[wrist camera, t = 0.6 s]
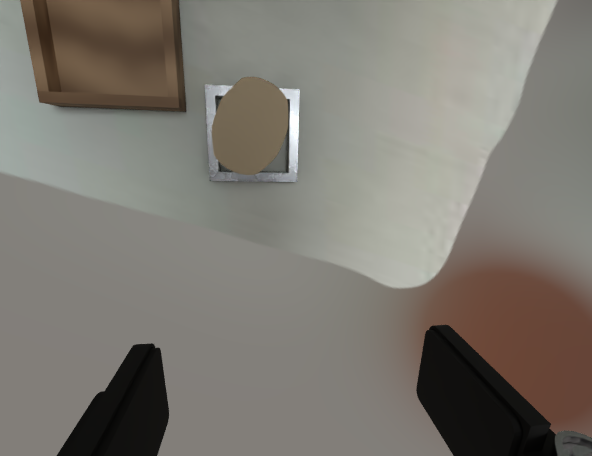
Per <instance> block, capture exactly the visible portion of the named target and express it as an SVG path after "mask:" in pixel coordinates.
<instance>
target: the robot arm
mask: <svg viewBox="0 0 592 456" xmlns="http://www.w3.org/2000/svg"><path fill="white" fill-rule="evenodd" d="M417 396H418V398H419V400H420V402H421V404H422V405H423V407H424V409H425V410H426V412H427V413H428V415H429V416H430V418H431V420H432V421H433V423H434V425H435V426H436V428H437V429H438V431H439V433H440V434H441V436H442V438H443V439H444V441H445V442H446V444H447V445H448V447H449V449H450V450H451V452H452V454H453V455H454V456H592V438H591V437H588V436H586V435H584V434H581V433H577V432H574V431H561V432H558V433H557V435H556V434H555V433H554V432H553V431H551V430H550V429H549V428H550V425H551V424H550V423H549V422H548V421H547V420H546V419H545V418H544V417H543V416H542V415H541V414H540V413H539V412H538V411H537V410H536V409H535V408H534V407H533V406H532V405H531V404H530V403H529V402H528V401H527V400H526V399H524V398H523V397H522V396H521V395H520V394H519V393H518V392H517V391H516V390H515V389H514V388H513V387H512V386H511V385H510V384H509V383H508V382H507V381H506V380H505V379H504V378H503V377H502V376H501V375H500V374H499V373H498V372H497V371H496V370H495V369H493V367H491V366H490V365H489V364H488V363H487V362H486V361H485V360H484V359H483V358H482V357H481V356H480V355H479V354H478V353H477V352H476V351H475V350H474V349H473V348H472V347H471V346H470V345H469V344H468V343H467V342H466V341H465V340H464V339H462V337H460V336H459V335H458V334H457V333H456V332H455V331H454V330H453V329H452V328H451V327H450V326H448V325H437V326H431V327H430V329H429V330H427V331H426V334H425V339H424V346H423V352H422V358H421V364H420V370H419V377H418V383H417ZM168 419H169V408H168V401H167V393H166V387H165V379H164V372H163V364H162V357H161V350H160V348H155V346H154V344H137V345H133V347H132V348H131V350H130V351H129V353H128V354H127V356H126V358H125V359H124V361H123V363H122V364H121V366H120V367H119V369H118V371H117V372H116V374H115V376H114V377H113V379H112V380H111V382H110V383H109V385H108V387H107V388H106V390H105V391H104V392H100V393H98V394H97V395H96V396H95V398H94V399H93V400H92V402H91V404H90V405H89V406H88V408H87V410H86V411H85V413H84V414H83V416H82V417H81V419H80V421H79V422H78V423H77V425H76V427H75V428H74V430H73V431H72V433H71V434H70V436H69V438H68V439H67V441H66V442H65V444H64V445H63V447H62V448H61V450H60V452H59V453H58V455H57V456H157V454H158V451H159V448H160V445H161V442H162V439H163V436H164V432H165V430H166V426H167V423H168Z"/></svg>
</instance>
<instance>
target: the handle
mask: <svg viewBox="0 0 592 456" xmlns="http://www.w3.org/2000/svg"><path fill="white" fill-rule="evenodd" d="M287 130H288V100H287V99H286V97H285V95H284V94H283V93H282V91H281V90H280V89H279V88H277V87H276V86H275V85H274V84H272V83H270V82H269V81H266V80H264V79H261V78H257V77H244V78H241V79H240V80H239V81H238V82H237V83H236V84H235V85H234V86H233V87H232V88H231V89H230V90H229V91H228V92H227V93H226V94H225V95H224V96H223V98H222V99H221V102H220V104H219V106H218V109H217V112H216V114H215V117H214V120H213V124H212V144H213V153H214V156H215V157H216V159H217V160H218V161H219V162H220V163H221V164H222V165H223V166H224V167H226V168H227V169H229V170H231V171H233V172H236V173H239V174H244V175H254V174H258V173H259V172H261V171H262V170H263V169H264V168H265V167H266V166H267V165H268V164H270V163H271V162H272V161H273V159H274V158H275V157H276V156H277V154H278V152H279V150H280V148H281V146H282V143H283V141H284V139H285V136H286V133H287Z"/></svg>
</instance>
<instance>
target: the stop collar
mask: <svg viewBox="0 0 592 456" xmlns="http://www.w3.org/2000/svg"><path fill="white" fill-rule="evenodd" d="M232 87H233V86H224V85H205V99H206V118H207V137H208V156H209V176H210V181H263V182H297V171H298V131H299V90H300V89H283V88H279V89H280V90H281V91H282V93H283V94H284V95H285V97H286V99H287V100H288V161H287V172H265V171H261V172H259V173H258V174H254V175H244V174H239V173H236V172H233V171H221V167H220V162H219V161H218V160H217V159H216V157H215V156H214V153H213V144H212V124H213V120H214V117H215V114H216V112H217V109H218V99H222V98H223V96H224V95H225V94H226V93H227V92H228V91H229V90H230V89H231V88H232Z"/></svg>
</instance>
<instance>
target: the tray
mask: <svg viewBox="0 0 592 456" xmlns="http://www.w3.org/2000/svg"><path fill="white" fill-rule="evenodd" d="M20 1H21V7H22V12H23V17H24V23H25V28H26V33H27V39H28V44H29V49H30V54H31V60H32V65H33V70H34V76H35V81H36V86H37V92H38V97H39V102H41V103H46V104H50V105H55V106H60V107H85V108H110V109H135V110H161V111H186V101H185V86H184V71H183V57H182V42H181V28H180V13H179V0H20Z"/></svg>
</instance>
